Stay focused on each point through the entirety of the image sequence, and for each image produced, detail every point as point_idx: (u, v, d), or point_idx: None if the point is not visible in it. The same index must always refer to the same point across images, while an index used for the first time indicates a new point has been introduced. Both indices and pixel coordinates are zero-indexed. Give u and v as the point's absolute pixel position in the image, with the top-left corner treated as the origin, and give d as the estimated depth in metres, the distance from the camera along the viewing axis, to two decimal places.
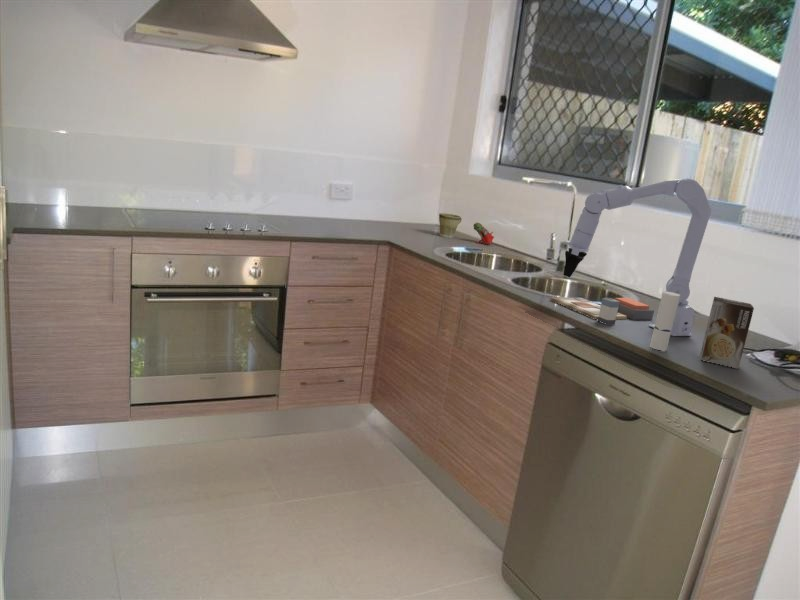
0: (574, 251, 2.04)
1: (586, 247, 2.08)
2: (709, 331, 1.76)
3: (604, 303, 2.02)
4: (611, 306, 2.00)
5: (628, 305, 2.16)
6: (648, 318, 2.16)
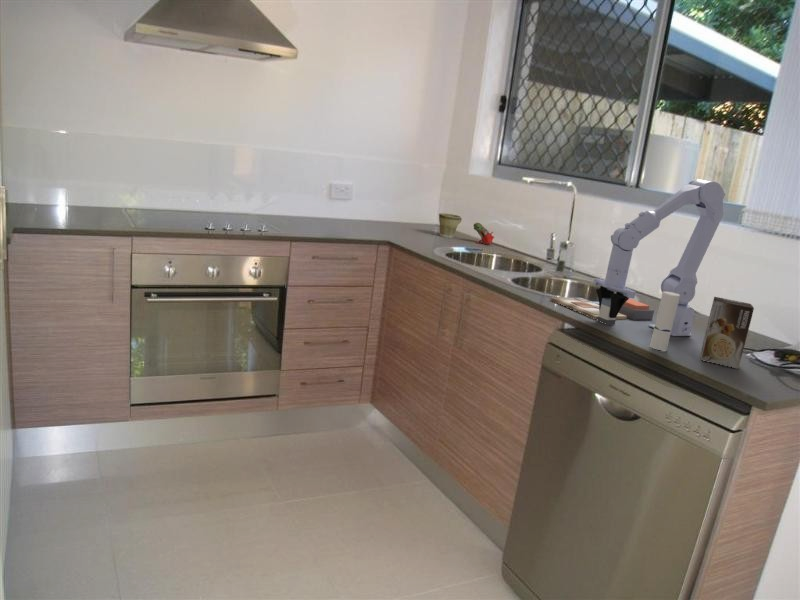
0: (631, 295, 1.95)
1: None
2: (709, 331, 1.76)
3: (604, 303, 2.02)
4: None
5: (628, 305, 2.16)
6: (648, 318, 2.16)
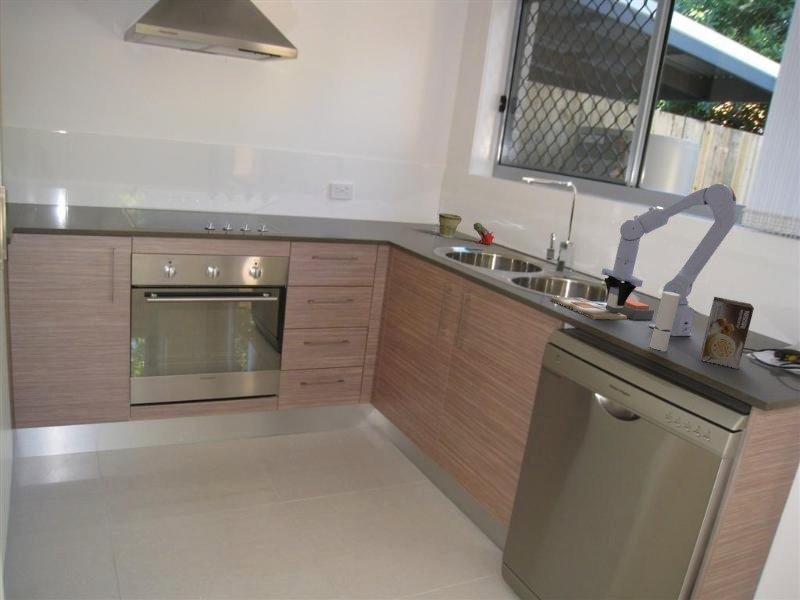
0: (639, 283, 2.04)
1: None
2: (709, 331, 1.76)
3: (612, 292, 2.11)
4: (618, 295, 2.09)
5: (628, 305, 2.16)
6: (648, 318, 2.16)
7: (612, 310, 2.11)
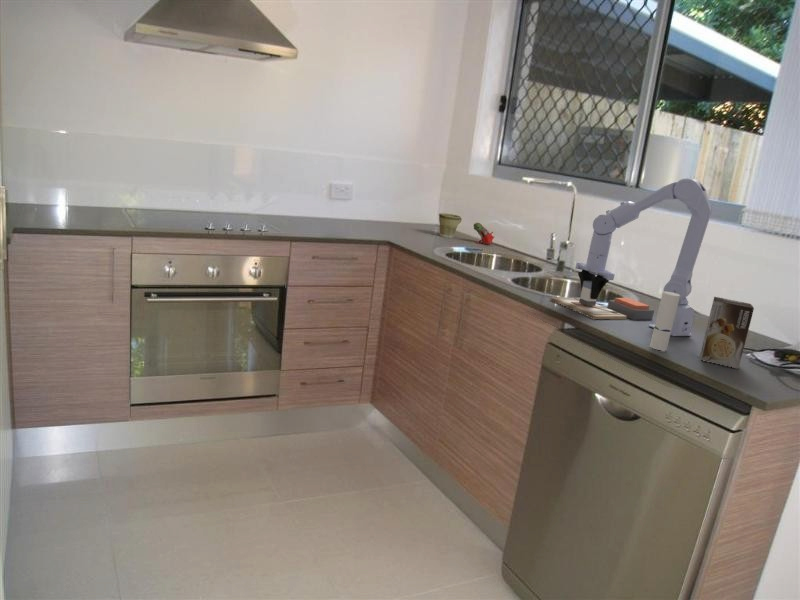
0: (611, 277, 2.08)
1: (604, 268, 2.13)
2: (709, 331, 1.76)
3: (585, 285, 2.15)
4: (591, 288, 2.13)
5: (628, 305, 2.16)
6: (648, 318, 2.16)
7: (585, 303, 2.15)
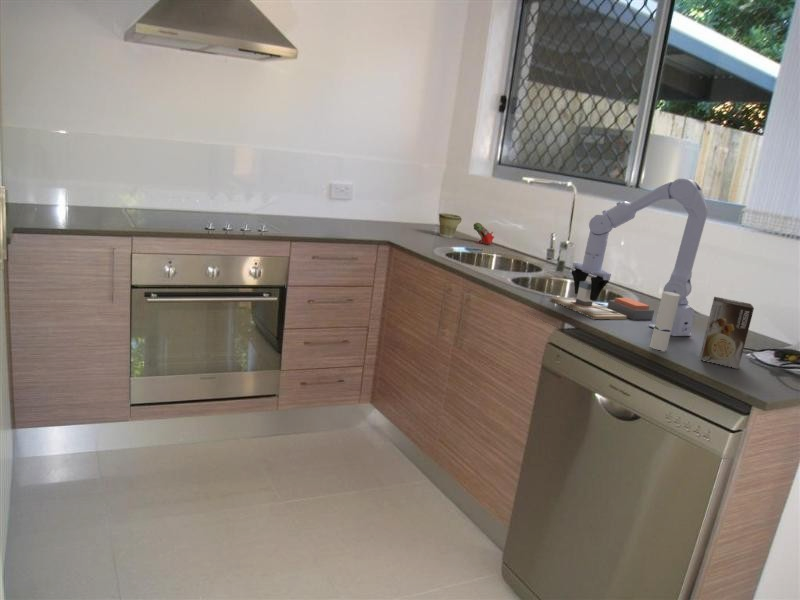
0: (607, 277, 2.08)
1: None
2: (709, 331, 1.76)
3: (581, 286, 2.15)
4: (587, 289, 2.14)
5: (628, 305, 2.16)
6: (648, 318, 2.16)
7: (582, 304, 2.15)
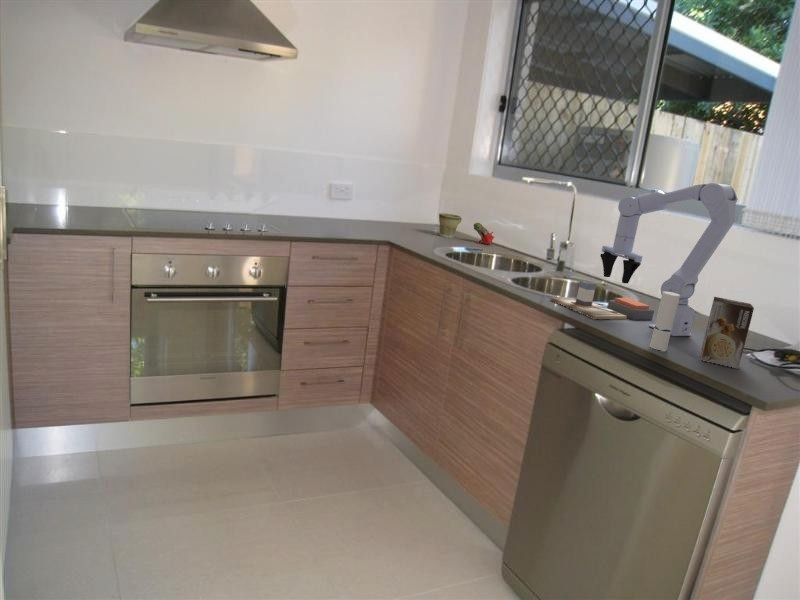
0: (638, 259, 2.08)
1: None
2: (709, 331, 1.76)
3: (581, 286, 2.15)
4: (587, 289, 2.14)
5: (628, 305, 2.16)
6: (648, 318, 2.16)
7: (582, 304, 2.15)
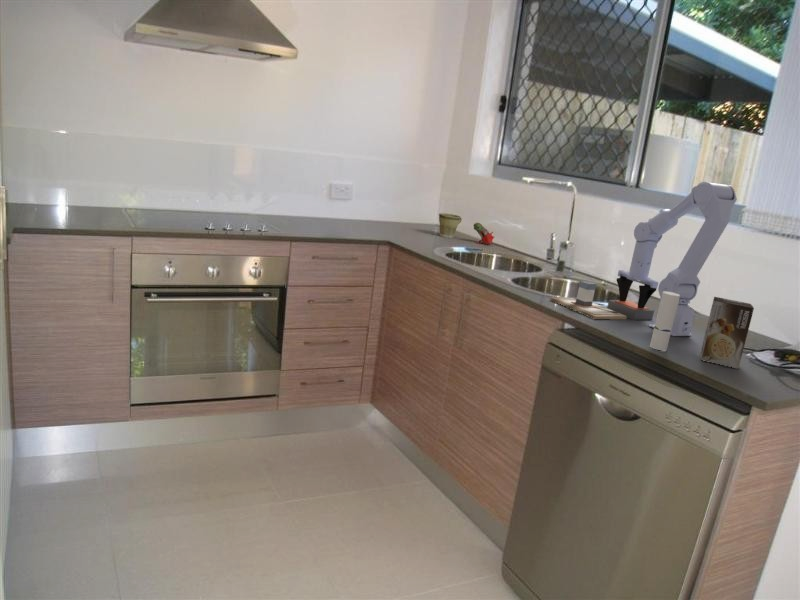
0: (654, 285, 2.10)
1: None
2: (709, 331, 1.76)
3: (581, 286, 2.15)
4: (587, 289, 2.14)
5: None
6: (648, 318, 2.16)
7: (582, 304, 2.15)
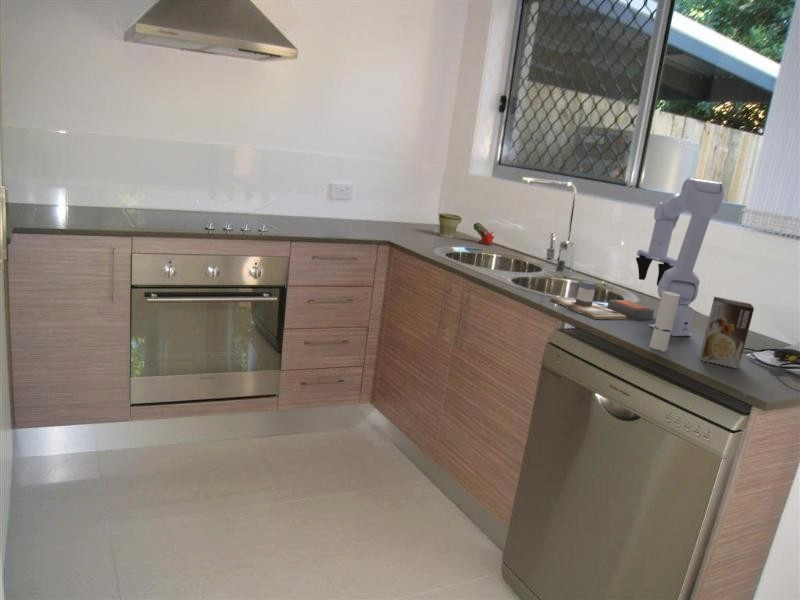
0: (673, 263, 2.18)
1: None
2: (709, 331, 1.76)
3: (581, 286, 2.15)
4: (587, 289, 2.14)
5: None
6: (648, 318, 2.16)
7: (582, 304, 2.15)
